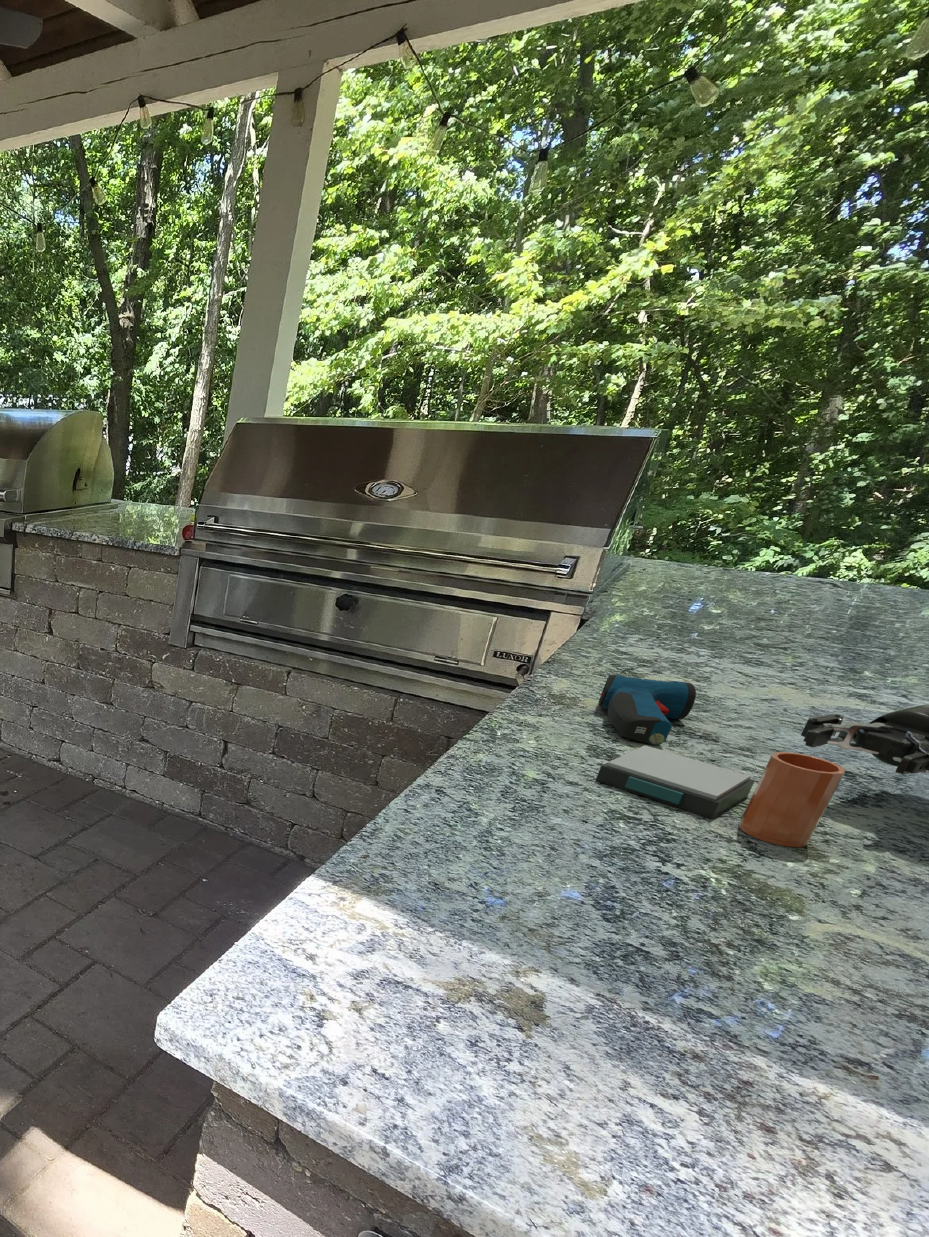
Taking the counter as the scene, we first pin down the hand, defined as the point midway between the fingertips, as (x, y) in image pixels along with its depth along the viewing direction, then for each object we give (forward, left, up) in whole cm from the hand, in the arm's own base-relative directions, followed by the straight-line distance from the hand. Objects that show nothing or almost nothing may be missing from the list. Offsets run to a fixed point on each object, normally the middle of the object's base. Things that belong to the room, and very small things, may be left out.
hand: (855, 752), depth 100 cm
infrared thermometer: (+26, -20, -10) cm, 34 cm away
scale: (+14, +6, -10) cm, 18 cm away
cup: (+2, +11, -10) cm, 15 cm away
